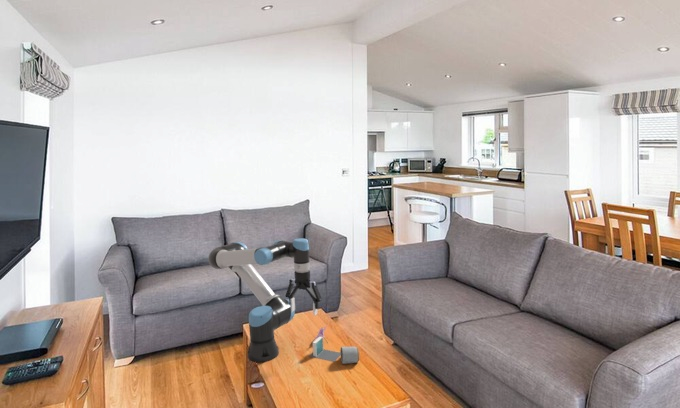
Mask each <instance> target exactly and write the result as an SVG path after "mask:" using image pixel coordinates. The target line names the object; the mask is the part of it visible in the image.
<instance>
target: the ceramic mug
mask: <svg viewBox="0 0 680 408" xmlns="http://www.w3.org/2000/svg"><path fill="white" fill-rule="evenodd" d="M339 351H340V353H341V355H340V361H341V365H348V364H356V363H359V361H360V350H359V348H358V346H341V347H340V350H339Z"/></svg>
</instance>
